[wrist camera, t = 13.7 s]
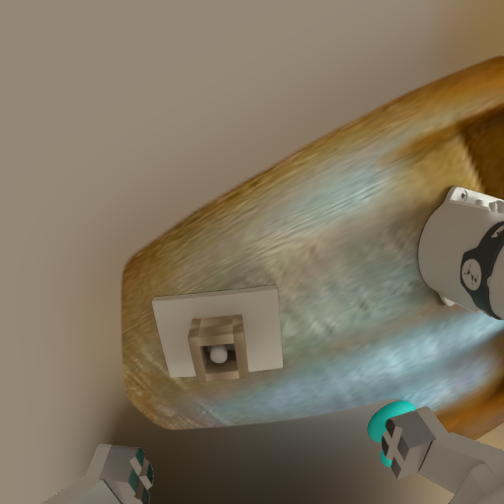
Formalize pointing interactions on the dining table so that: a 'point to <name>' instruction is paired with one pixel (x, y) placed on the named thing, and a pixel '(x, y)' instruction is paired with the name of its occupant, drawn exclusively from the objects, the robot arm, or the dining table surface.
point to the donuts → (379, 420)
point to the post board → (215, 305)
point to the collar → (217, 334)
